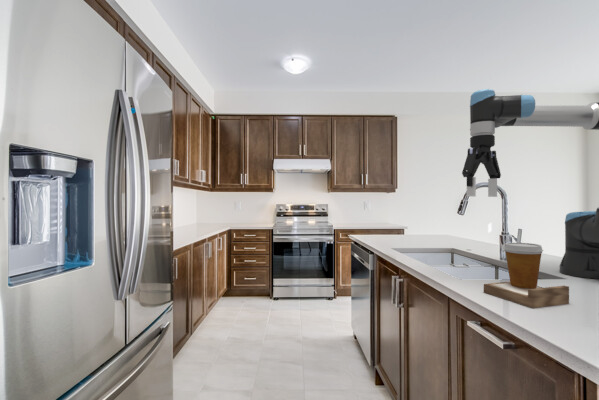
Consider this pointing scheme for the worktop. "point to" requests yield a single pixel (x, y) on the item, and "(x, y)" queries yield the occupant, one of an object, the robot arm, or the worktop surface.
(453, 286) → the worktop surface
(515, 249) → the disposable coffee cup
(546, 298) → the dock board
